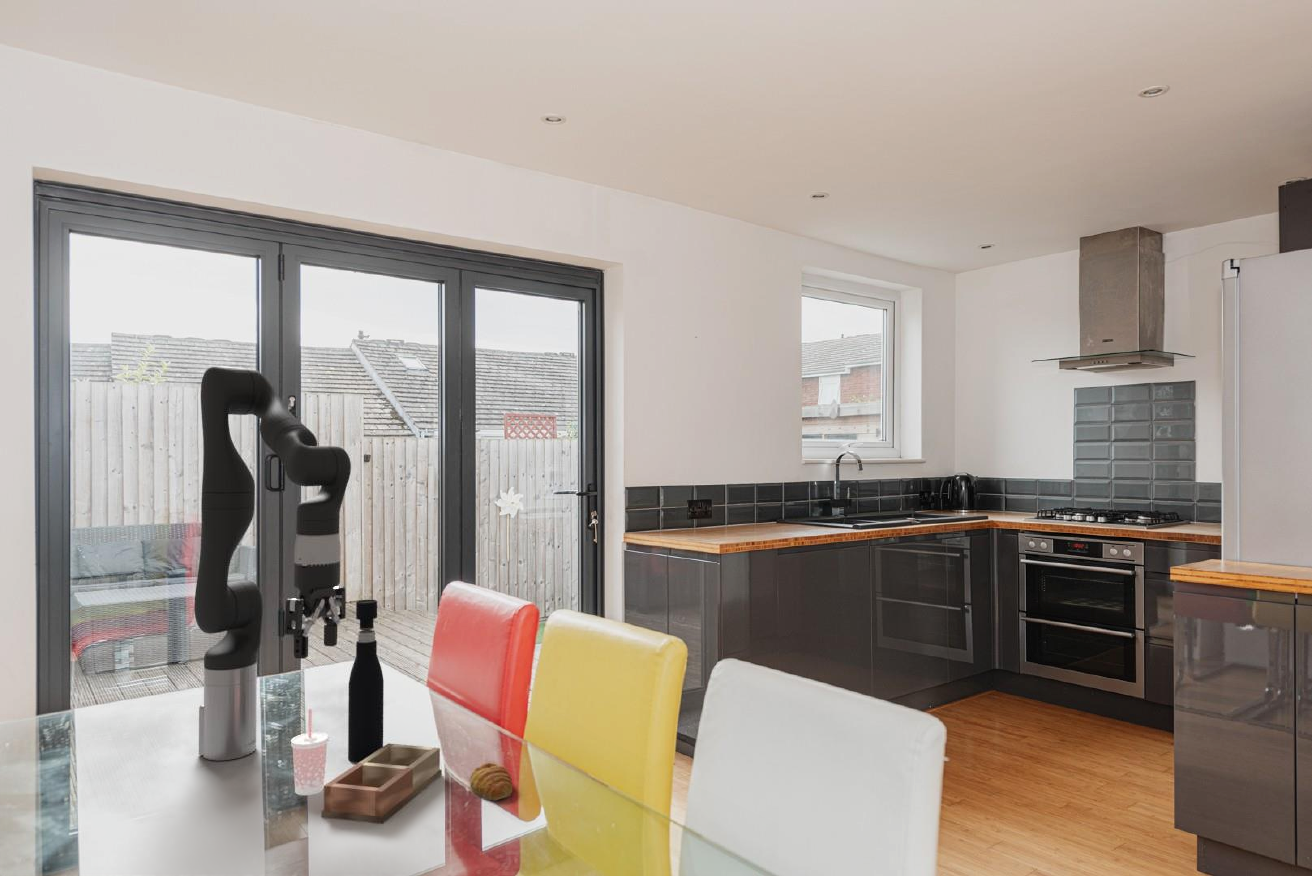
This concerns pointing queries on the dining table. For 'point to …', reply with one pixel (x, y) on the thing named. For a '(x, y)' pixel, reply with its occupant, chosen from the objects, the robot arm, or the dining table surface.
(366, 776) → the cup holder
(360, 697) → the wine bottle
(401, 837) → the dining table surface
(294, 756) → the beverage cup
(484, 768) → the pastry
